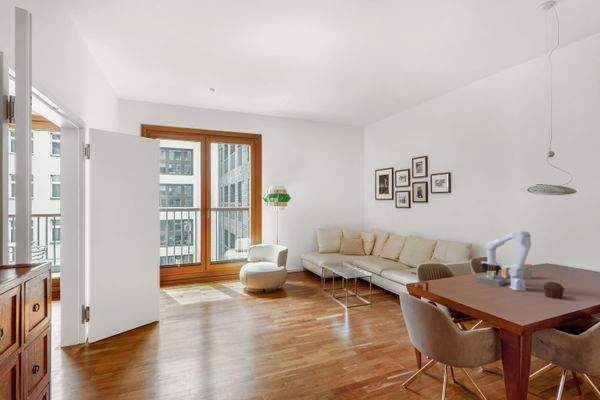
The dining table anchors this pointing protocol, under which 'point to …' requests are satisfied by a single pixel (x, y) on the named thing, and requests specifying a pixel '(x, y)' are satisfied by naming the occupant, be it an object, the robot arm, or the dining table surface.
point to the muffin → (553, 290)
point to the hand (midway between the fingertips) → (491, 273)
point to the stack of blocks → (526, 275)
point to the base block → (492, 280)
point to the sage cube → (491, 274)
